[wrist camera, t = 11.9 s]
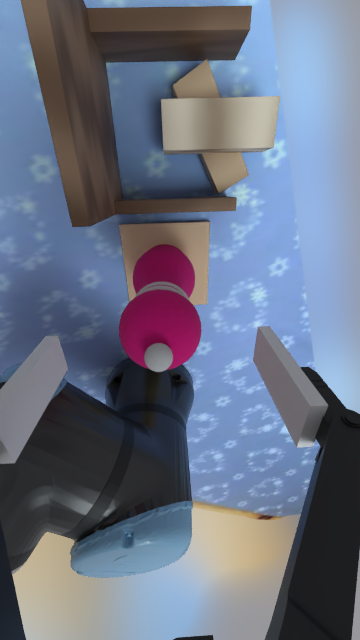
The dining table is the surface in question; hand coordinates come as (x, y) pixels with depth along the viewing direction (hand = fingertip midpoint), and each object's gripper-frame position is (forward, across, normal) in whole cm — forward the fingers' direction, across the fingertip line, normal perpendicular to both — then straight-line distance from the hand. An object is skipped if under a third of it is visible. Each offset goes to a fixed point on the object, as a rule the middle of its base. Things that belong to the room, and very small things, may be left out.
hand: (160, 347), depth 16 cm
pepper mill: (+18, 0, 0) cm, 18 cm away
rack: (+18, -1, -14) cm, 23 cm away
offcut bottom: (+19, -6, -14) cm, 24 cm away
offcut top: (+16, -6, -14) cm, 22 cm away
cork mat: (+19, 0, 0) cm, 19 cm away
